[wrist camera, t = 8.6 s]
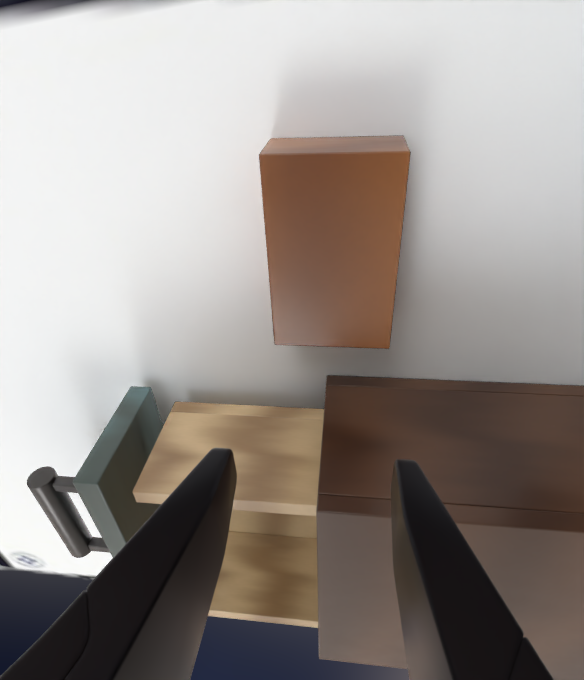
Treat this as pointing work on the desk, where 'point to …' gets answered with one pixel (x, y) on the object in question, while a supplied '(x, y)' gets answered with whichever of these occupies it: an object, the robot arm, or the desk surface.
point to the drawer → (248, 507)
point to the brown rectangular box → (334, 237)
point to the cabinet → (453, 506)
